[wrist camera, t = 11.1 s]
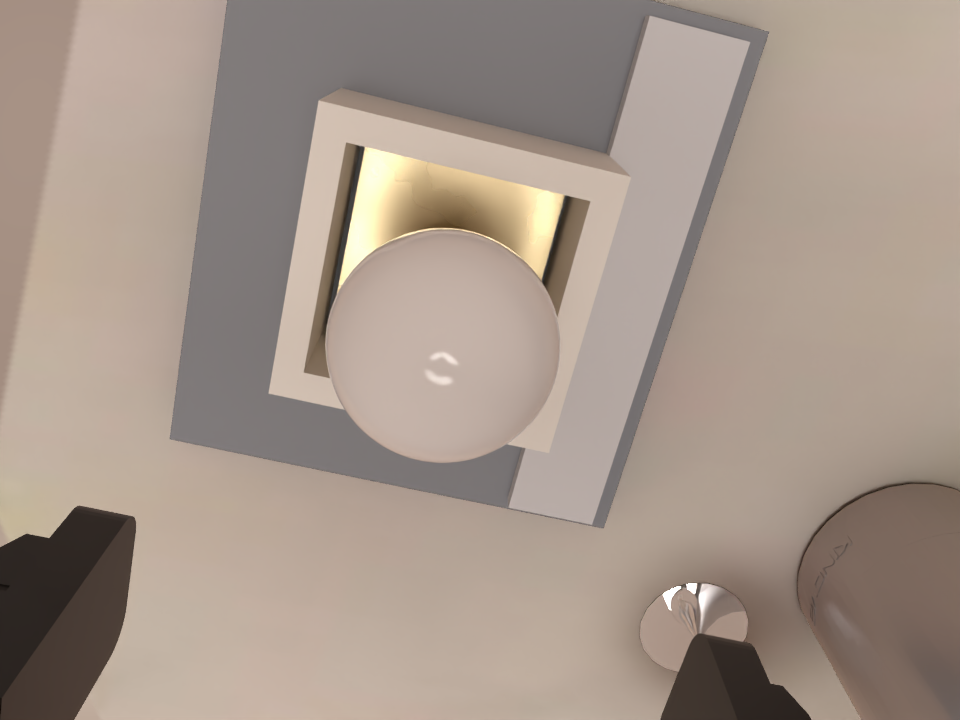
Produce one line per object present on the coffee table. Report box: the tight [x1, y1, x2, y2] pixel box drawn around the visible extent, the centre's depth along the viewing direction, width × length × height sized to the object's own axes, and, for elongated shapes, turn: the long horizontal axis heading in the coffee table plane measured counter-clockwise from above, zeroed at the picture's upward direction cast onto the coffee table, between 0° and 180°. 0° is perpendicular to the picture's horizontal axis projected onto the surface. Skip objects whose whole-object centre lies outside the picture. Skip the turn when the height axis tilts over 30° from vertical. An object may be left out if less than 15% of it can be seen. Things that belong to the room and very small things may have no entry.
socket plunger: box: [337, 147, 565, 293], centre depth 32 cm, size 7×7×2 cm
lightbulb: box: [325, 228, 561, 463], centre depth 27 cm, size 6×6×11 cm
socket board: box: [170, 0, 769, 528], centre depth 31 cm, size 18×20×6 cm
